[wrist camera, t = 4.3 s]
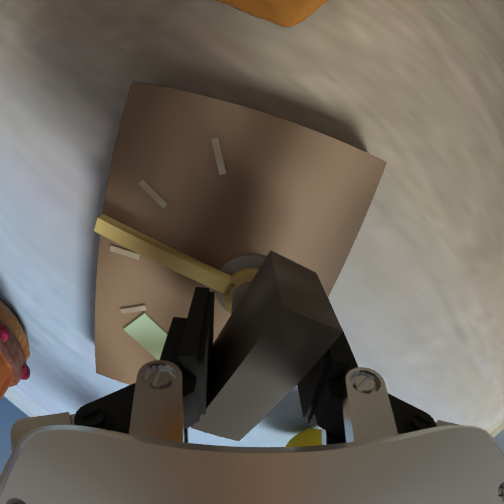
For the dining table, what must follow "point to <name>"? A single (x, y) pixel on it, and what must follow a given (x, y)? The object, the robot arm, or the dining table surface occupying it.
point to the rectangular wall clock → (215, 210)
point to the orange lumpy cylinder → (12, 350)
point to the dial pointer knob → (250, 330)
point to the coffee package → (278, 9)
